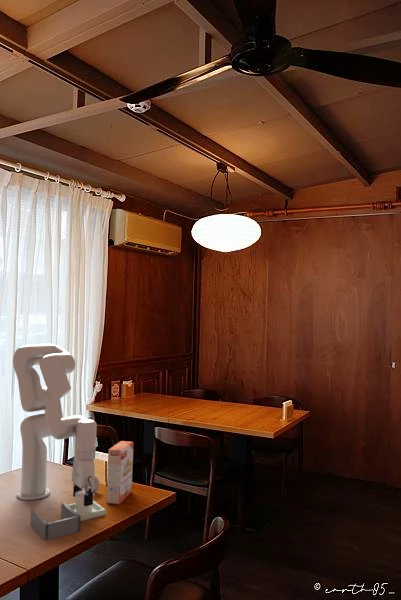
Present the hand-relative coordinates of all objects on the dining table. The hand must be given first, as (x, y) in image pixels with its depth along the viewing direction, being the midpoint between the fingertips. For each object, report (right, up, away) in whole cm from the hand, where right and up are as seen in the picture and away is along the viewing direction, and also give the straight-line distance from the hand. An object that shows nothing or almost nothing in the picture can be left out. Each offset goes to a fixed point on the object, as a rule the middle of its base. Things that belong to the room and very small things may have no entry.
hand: (82, 500), depth 181 cm
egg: (-1, -5, +19) cm, 20 cm away
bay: (-6, -4, -13) cm, 15 cm away
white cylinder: (+1, -4, -1) cm, 4 cm away
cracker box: (+11, -5, +15) cm, 20 cm away
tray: (0, -4, 0) cm, 4 cm away
